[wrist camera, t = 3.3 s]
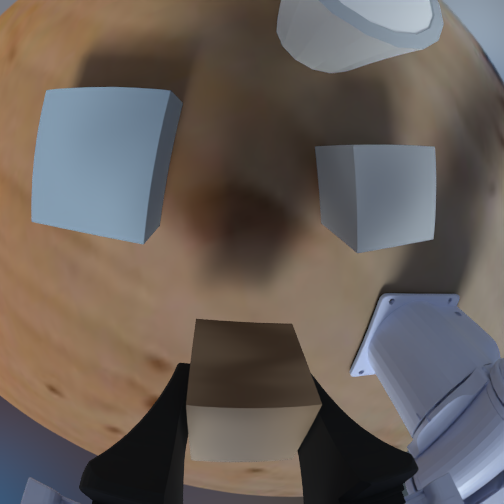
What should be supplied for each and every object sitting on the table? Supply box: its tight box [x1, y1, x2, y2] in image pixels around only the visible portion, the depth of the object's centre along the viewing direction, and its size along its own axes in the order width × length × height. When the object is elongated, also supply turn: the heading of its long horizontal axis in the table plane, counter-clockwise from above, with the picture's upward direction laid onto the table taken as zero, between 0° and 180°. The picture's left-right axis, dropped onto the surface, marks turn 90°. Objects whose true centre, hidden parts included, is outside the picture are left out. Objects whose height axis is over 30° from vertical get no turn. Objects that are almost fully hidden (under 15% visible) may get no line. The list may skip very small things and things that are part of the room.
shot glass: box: [276, 0, 443, 73], centre depth 8 cm, size 7×7×7 cm
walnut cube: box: [186, 319, 322, 462], centre depth 11 cm, size 4×4×5 cm
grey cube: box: [315, 144, 436, 253], centre depth 13 cm, size 4×4×5 cm
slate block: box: [32, 87, 183, 244], centre depth 12 cm, size 7×7×4 cm
